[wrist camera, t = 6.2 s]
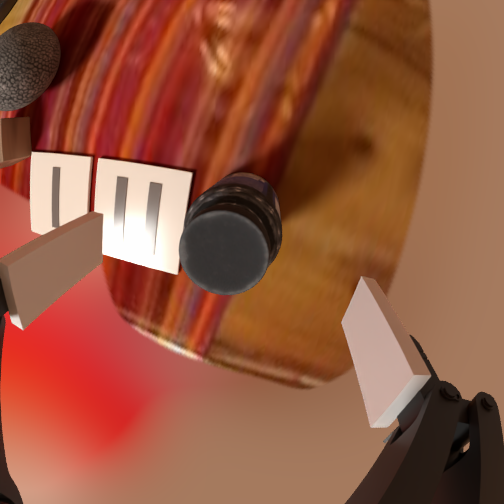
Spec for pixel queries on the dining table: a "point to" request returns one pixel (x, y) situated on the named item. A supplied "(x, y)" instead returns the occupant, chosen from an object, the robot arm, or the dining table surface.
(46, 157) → the coaster
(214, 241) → the pill bottle
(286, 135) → the dining table surface
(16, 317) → the robot arm
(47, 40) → the decorative ball
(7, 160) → the walnut block
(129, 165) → the coaster
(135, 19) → the dining table surface
